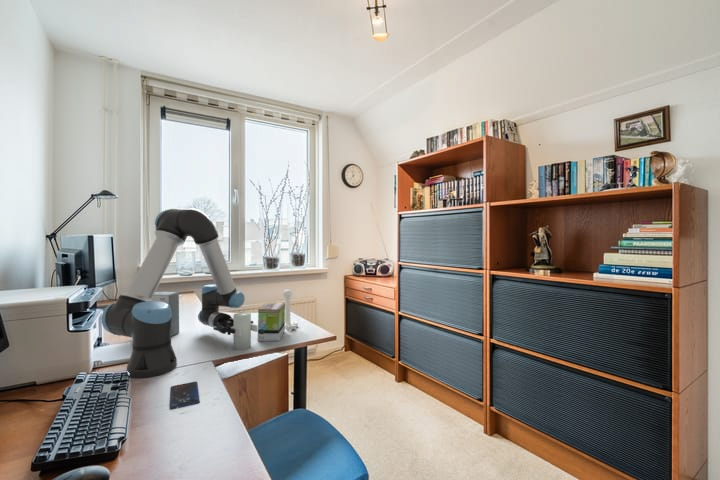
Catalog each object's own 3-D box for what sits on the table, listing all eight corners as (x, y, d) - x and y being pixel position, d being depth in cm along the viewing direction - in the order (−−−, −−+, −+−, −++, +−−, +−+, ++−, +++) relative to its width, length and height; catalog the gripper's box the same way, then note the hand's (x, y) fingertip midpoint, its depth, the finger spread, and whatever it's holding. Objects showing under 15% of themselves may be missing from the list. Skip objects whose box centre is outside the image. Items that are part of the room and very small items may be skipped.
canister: (239, 351, 135) (239, 317, 135) (230, 347, 139) (230, 314, 139) (254, 346, 140) (254, 314, 140) (244, 343, 145) (245, 311, 144)
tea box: (279, 341, 148) (279, 308, 147) (257, 341, 147) (257, 309, 147) (285, 331, 163) (285, 301, 162) (264, 331, 162) (264, 302, 162)
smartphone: (197, 380, 107) (199, 401, 94) (197, 383, 107) (199, 404, 94) (170, 386, 103) (169, 408, 90) (170, 388, 103) (169, 411, 90)
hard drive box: (180, 332, 158) (179, 292, 158) (169, 338, 151) (169, 295, 150) (150, 331, 160) (150, 291, 160) (138, 336, 152) (137, 294, 152)
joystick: (279, 325, 172) (279, 288, 171) (293, 323, 176) (293, 286, 176) (287, 331, 163) (287, 291, 162) (301, 328, 167) (301, 290, 166)
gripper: (240, 324, 159) (268, 333, 144) (199, 334, 143) (226, 345, 129) (240, 309, 159) (268, 317, 144) (199, 317, 143) (226, 326, 129)
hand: (248, 330), depth 137 cm, fingers closed on canister, 7 cm apart
